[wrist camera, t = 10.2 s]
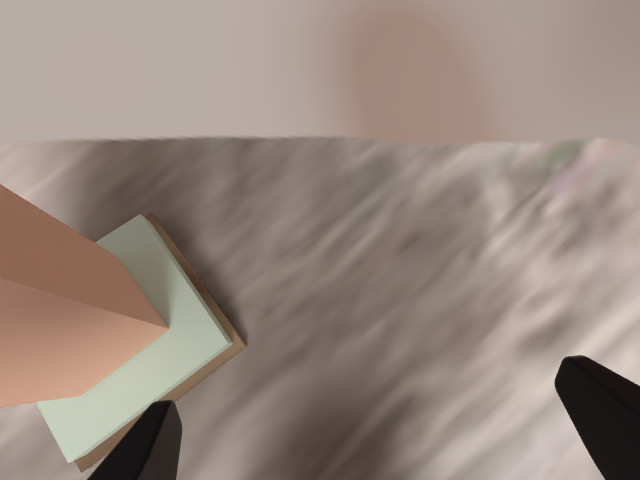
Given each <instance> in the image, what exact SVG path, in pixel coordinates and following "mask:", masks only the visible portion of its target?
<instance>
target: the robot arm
mask: <svg viewBox="0 0 640 480" xmlns="http://www.w3.org/2000/svg"><path fill="white" fill-rule="evenodd" d="M555 388H556V391H557V393H558V395H559V397H560V399H561V401H562V403H563V405H564V407H565V408H566V410H567V412H568V414H569V416H570V418H571V420H572V422H573V424H574V426H575V428H576V430H577V432H578V433H579V435H580V437H581V439H582V441H583V443H584V445H585V447H586V449H587V450H588V452H589V454H590V456H591V458H592V459H593V461H594V463H595V464H596V466H597V467H598V469H599V471H600V472H601V474H602V475H603V477H604V478H605V480H640V386H639V385H637V384H635V383H633V382H631V381H630V380H628V379H626V378H624V377H622V376H621V375H619V374H617V373H615V372H613V371H611V370H610V369H608V368H606V367H604V366H602V365H601V364H599V363H597V362H595V361H593V360H591V359H590V358H588V357H586V356H582V355H578V356H568V357H565V358H564V359H563V360H562V363H561V365H560V368H559V370H558V373H557V375H556V378H555ZM181 437H182V423H181V420H180V417H179V414H178V411H177V408H176V405H175V403H174V401H173V400H161V401H155V402H153V403H152V404H150V406H149V407H148V408H147V409H146V410H145V411H144V413H143V414H142V415H141V416H140V417H139V419H138V420H137V421H136V422H135V423H134V425H133V426H132V427H131V428H130V429H129V430H128V432H127V433H126V434H125V435H124V436H123V438H122V439H121V440H120V441H119V442H118V444H117V445H116V446H115V447H114V448H113V449H112V451H111V452H110V453H109V454H108V455H107V457H106V458H105V459H104V460H103V461H102V463H101V464H100V465H99V466H98V467H97V468H96V470H95V471H94V472H93V473H92V474H91V476H90V477H89V478H88V479H87V480H176V476H177V468H178V460H179V453H180V445H181Z"/></svg>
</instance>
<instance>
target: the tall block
mask: <svg viewBox="0 0 640 480" xmlns="http://www.w3.org/2000/svg"><path fill="white" fill-rule="evenodd" d="M168 330H169V328H168V327H167V325H166V324H165V322H164V321H163V320H162V318H161V317H160V315H159V314H158V312H157V311H156V310H155V308H154V307H153V305H152V304H151V303H150V301H149V300H148V298H147V297H146V295H145V294H144V293H143V291H142V290H141V288H140V287H139V285H138V284H137V283H136V281H135V280H134V278H133V277H132V275H131V274H130V273H129V271H128V270H127V268H126V267H125V266H124V264H123V263H122V261H121V260H120V258H119V257H117V256H115V255H114V254H112V253H110V252H109V251H107V250H106V249H104V248H102V247H101V246H99V245H98V244H96V243H94V242H93V241H91V240H89V239H88V238H86V237H85V236H83V235H81V234H80V233H78V232H77V231H75V230H73V229H72V228H70V227H68V226H67V225H65V224H64V223H62V222H60V221H59V220H57V219H56V218H54V217H52V216H51V215H49V214H47V213H46V212H44V211H43V210H41V209H39V208H38V207H36V206H35V205H33V204H31V203H30V202H28V201H26V200H25V199H23V198H22V197H20V196H18V195H17V194H15V193H13V192H12V191H10V190H9V189H7V188H5V187H4V186H2V185H1V184H0V407H2V406H9V405H17V404H25V403H32V402H40V401H47V400H55V399H63V398H70V397H78V396H81V395H83V394H84V393H85V392H87V391H88V390H89V389H91V388H92V387H93V386H95V385H96V384H97V383H98V382H100V381H101V380H102V379H104V378H105V377H106V376H108V375H109V374H110V373H112V372H113V371H114V370H116V369H117V368H118V367H120V366H121V365H122V364H124V363H125V362H126V361H128V360H129V359H130V358H132V357H133V356H134V355H136V354H137V353H138V352H140V351H141V350H142V349H144V348H145V347H146V346H148V345H149V344H150V343H152V342H153V341H154V340H156V339H157V338H158V337H160V336H161V335H162V334H164V333H165V332H166V331H168Z"/></svg>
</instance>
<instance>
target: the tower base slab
mask: <svg viewBox="0 0 640 480" xmlns="http://www.w3.org/2000/svg"><path fill="white" fill-rule="evenodd" d="M145 218H146V219H147V220H148V221H149V222H151V224H152V225H153V227H154V228H155V230H156V231H157V233H158V234H159V236H160V237H161V238H162V240H163V241H164V243H165V244H166V246H167V247H168V249H169V250H170V252H171V253H172V255H173V256H174V257H175V259H176V260H177V262H178V263H179V265H180V266H181V268H182V269H183V271H184V272H185V274H186V275H187V276H188V278H189V279H190V281H191V282H192V284H193V285H194V287H195V288H196V290H197V291H198V293H199V294H200V295H201V297H202V298H203V300H204V301H205V303H206V304H207V306H208V307H209V309H210V310H211V311H212V313H213V314H214V316H215V317H216V319H217V320H218V322H219V323H220V325H221V326H222V328H223V329H224V330H225V332H226V333H227V335H228V336H229V338H230V339H231V341H232V342H233V344H232V345H231V346H229V347H228V348H227V349H225V350H224V351H223V352H221V353H220V354H219V355H217V356H216V357H215V358H213V359H212V360H211V361H209V362H208V363H207V364H206V365H204V366H203V367H202V368H200V369H199V370H198V371H196V372H195V373H194V374H192V375H191V376H190V377H188V378H187V379H186V380H184V381H183V382H182V383H180V384H179V385H178V386H176V387H175V388H174V389H172V390H171V391H170V392H168V393H167V394H166V395H164V396H163V397H162V398H160V399H159V400H158V401H161V400H173V401H174V402H176V401H177V400H178V399H180V398H181V397H182V396H184V395H185V394H186V393H187V392H189V391H190V390H191V389H193V388H194V387H195V386H196V385H198V384H199V383H200V382H202V381H203V380H204V379H205V378H207V377H208V376H209V375H211V374H212V373H213V372H215V371H216V370H217V369H218V368H220V367H221V366H222V365H224V364H225V363H226V362H227V361H229V360H230V359H231V358H233V357H234V356H235V355H237V354H238V353H239V352H240V351H242V350H243V349H244V348H246V347H247V345H246V344H245V343H244V341H243V340H242V338H241V337H240V335H239V334H238V333H237V331H236V330H235V328H234V327H233V326H232V324H231V323H230V321H229V320H228V318H227V317H226V316H225V314H224V313H223V311H222V310H221V308H220V307H219V306H218V304H217V303H216V301H215V300H214V298H213V297H212V296H211V294H210V293H209V291H208V290H207V289H206V287H205V286H204V284H203V283H202V281H201V280H200V279H199V277H198V276H197V274H196V273H195V271H194V270H193V269H192V267H191V266H190V264H189V263H188V261H187V260H186V259H185V257H184V256H183V254H182V253H181V252H180V250H179V249H178V247H177V246H176V244H175V243H174V242H173V240H172V239H171V237H170V236H169V234H168V233H167V232H166V230H165V229H164V227H163V226H162V224H161V223H160V222H159V220H158V219H157V218H156V217H155V216H154V215H153V214H152V213H151V214H150V215H148V216H146V217H145ZM143 413H144V411H143V412H142V413H141V414H139V415H138V416H137V417H135V418H134V419H133V420H131V421H130V422H129V423H127V424H126V425H125V426H123V427H122V428H121V429H119V430H118V431H117V432H115V433H114V434H113V435H111V436H110V437H109V438H107V439H106V440H105V441H103V442H102V443H101V444H99V445H98V446H97V447H96V448H94V449H93V450H92V451H90V452H89V453H88V454H86V455H84V456H82V457H80V458H78V459H76V460H75V462H76V464H77V466H78V467H79V469H80V471H81V472H83V471H85V470H87V469H89V468H90V467H92V466H93V465H94V464H96V463H97V462H98V461H100V460H101V459H102V458H103V457H105V456H106V455H107V454H109V453H110V452H111V451H112V449H113V448H114V447H115V446H116V445H117V444H118V442H119V441H120V440H121V439H122V438H123V436H124V435H125V434H126V433H127V432H128V430H129V429H130V428H131V427H132V426H133V425H134V423H135V422H136V421H137V420H138V419H139V417H140V416H141V415H142V414H143Z"/></svg>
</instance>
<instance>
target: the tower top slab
mask: <svg viewBox="0 0 640 480" xmlns="http://www.w3.org/2000/svg"><path fill="white" fill-rule="evenodd" d="M95 243H96V244H98V245H99V246H101V247H102V248H104V249H106V250H107V251H109V252H110V253H112V254H114V255H115V256H117V257H119V258H120V260H121V261H122V263H123V264H124V266H125V267H126V268H127V270H128V271H129V273H130V274H131V275H132V277H133V278H134V280H135V281H136V283H137V284H138V285H139V287H140V288H141V290H142V291H143V293H144V294H145V295H146V297H147V298H148V300H149V301H150V303H151V304H152V305H153V307H154V308H155V310H156V311H157V312H158V314H159V315H160V317H161V318H162V320H163V321H164V322H165V324H166V325H167V327H168V328H169V330H168V331H166V332H165V333H164V334H162V335H161V336H160V337H158V338H157V339H156V340H154V341H153V342H152V343H150V344H149V345H148V346H146V347H145V348H144V349H142V350H141V351H140V352H138V353H137V354H136V355H134V356H133V357H132V358H130V359H129V360H128V361H126V362H125V363H124V364H122V365H121V366H120V367H118V368H117V369H116V370H114V371H113V372H112V373H110V374H109V375H108V376H106V377H105V378H104V379H102V380H101V381H100V382H98V383H97V384H96V385H95V386H93V387H92V388H91V389H89V390H88V391H87V392H85V393H84V394H83V395H81V396H78V397H70V398H63V399H55V400H47V401H40V402H36V404H37V406H38V408H39V409H40V411H41V413H42V415H43V417H44V419H45V421H46V422H47V424H48V426H49V428H50V430H51V432H52V434H53V436H54V437H55V439H56V441H57V443H58V445H59V447H60V449H61V450H62V452H63V454H64V456H65V458H66V460H67V462H68V463H70V462H72V461H74V460H76V459H78V458H80V457H82V456H84V455H86V454H88V453H89V452H90V451H92V450H93V449H94V448H96V447H97V446H98V445H99V444H101V443H102V442H103V441H105V440H106V439H107V438H109V437H110V436H111V435H113V434H114V433H115V432H117V431H118V430H119V429H121V428H122V427H123V426H125V425H126V424H127V423H129V422H130V421H131V420H133V419H134V418H135V417H137V416H138V415H139V414H141V413H142V412H143V411H145V410H146V409H147V408H148V407H149V406H150V404H152V403H153V402H155V401H158V400H159V399H160V398H162V397H163V396H164V395H166V394H167V393H168V392H170V391H171V390H172V389H174V388H175V387H176V386H178V385H179V384H180V383H182V382H183V381H184V380H186V379H187V378H188V377H190V376H191V375H192V374H194V373H195V372H196V371H198V370H199V369H200V368H202V367H203V366H204V365H206V364H207V363H208V362H209V361H211V360H212V359H213V358H215V357H216V356H217V355H219V354H220V353H221V352H223V351H224V350H225V349H227V348H228V347H229V346H231V345H232V344H233V342H232V341H231V339H230V338H229V336H228V335H227V333H226V332H225V330H224V329H223V328H222V326H221V325H220V323H219V322H218V320H217V319H216V317H215V316H214V314H213V313H212V311H211V310H210V309H209V307H208V306H207V304H206V303H205V301H204V300H203V298H202V297H201V295H200V294H199V293H198V291H197V290H196V288H195V287H194V285H193V284H192V282H191V281H190V279H189V278H188V276H187V275H186V274H185V272H184V271H183V269H182V268H181V266H180V265H179V263H178V262H177V260H176V259H175V257H174V256H173V255H172V253H171V252H170V250H169V249H168V247H167V246H166V244H165V243H164V241H163V240H162V238H161V237H160V236H159V234H158V233H157V231H156V230H155V228H154V227H153V225H152V224H151V222H149V221H148V220H147V219H146V218H145V217H143V216H142V215H141V214H139V215H137V216H136V217H134V218H133V219H131V220H130V221H128V222H126V223H125V224H123V225H122V226H120V227H118V228H117V229H115V230H114V231H112V232H110V233H109V234H107V235H106V236H104V237H103V238H101V239H99V240H98V241H96V242H95Z"/></svg>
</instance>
